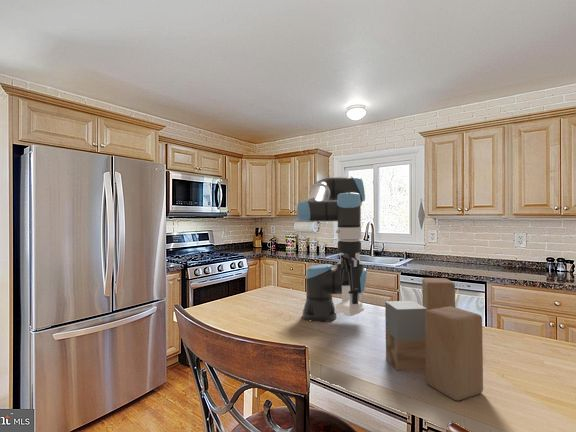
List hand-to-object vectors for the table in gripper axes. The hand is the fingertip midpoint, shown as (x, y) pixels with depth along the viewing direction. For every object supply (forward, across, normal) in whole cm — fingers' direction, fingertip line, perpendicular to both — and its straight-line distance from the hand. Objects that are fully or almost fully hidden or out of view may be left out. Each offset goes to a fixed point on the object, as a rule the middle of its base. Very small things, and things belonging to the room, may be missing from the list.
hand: (350, 308), depth 106 cm
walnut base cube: (+15, +9, +15) cm, 23 cm away
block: (+15, +24, +21) cm, 35 cm away
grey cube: (+6, +8, +15) cm, 18 cm away
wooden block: (+16, -17, +40) cm, 46 cm away
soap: (+1, 0, 0) cm, 1 cm away
